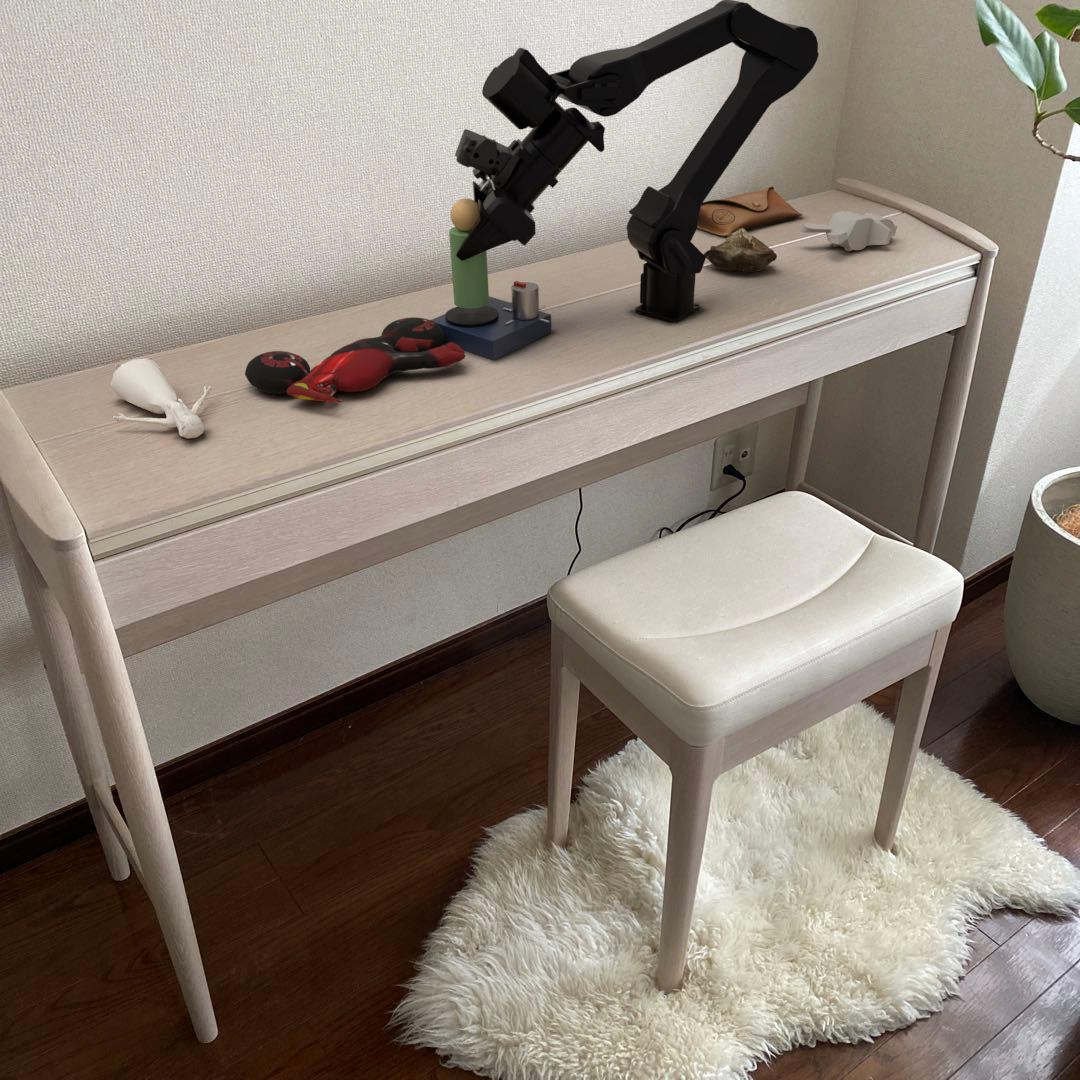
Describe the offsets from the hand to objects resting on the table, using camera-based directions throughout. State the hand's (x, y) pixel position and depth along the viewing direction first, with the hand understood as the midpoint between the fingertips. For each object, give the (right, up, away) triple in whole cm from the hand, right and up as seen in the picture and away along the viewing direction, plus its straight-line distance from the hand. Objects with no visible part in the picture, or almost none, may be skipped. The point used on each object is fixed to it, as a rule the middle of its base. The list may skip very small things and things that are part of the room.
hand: (457, 251), depth 130 cm
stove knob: (+8, -7, +5) cm, 12 cm away
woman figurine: (-32, -21, -11) cm, 40 cm away
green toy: (+2, -5, +4) cm, 7 cm away
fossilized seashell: (+39, +4, +25) cm, 47 cm away
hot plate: (+5, -9, +6) cm, 12 cm away
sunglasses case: (+44, +17, +45) cm, 65 cm away
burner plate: (+1, -7, +5) cm, 9 cm away
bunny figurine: (+58, +10, +33) cm, 67 cm away
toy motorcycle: (-11, -16, -4) cm, 20 cm away
